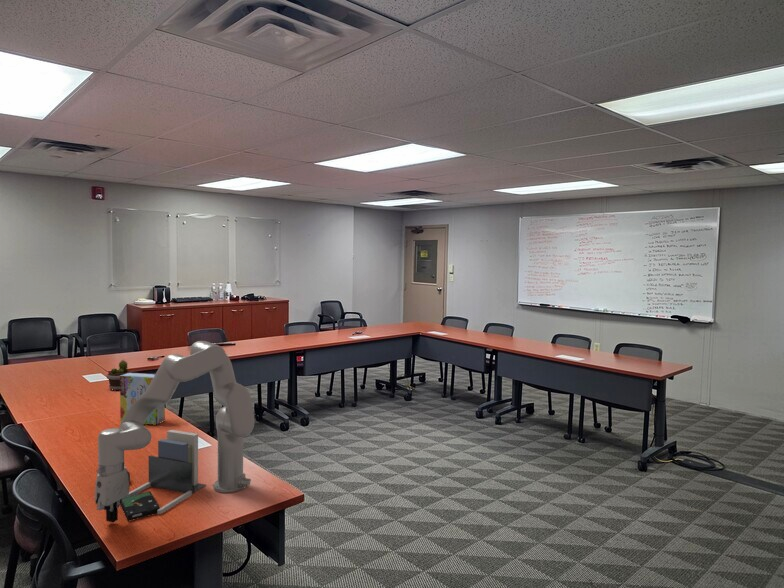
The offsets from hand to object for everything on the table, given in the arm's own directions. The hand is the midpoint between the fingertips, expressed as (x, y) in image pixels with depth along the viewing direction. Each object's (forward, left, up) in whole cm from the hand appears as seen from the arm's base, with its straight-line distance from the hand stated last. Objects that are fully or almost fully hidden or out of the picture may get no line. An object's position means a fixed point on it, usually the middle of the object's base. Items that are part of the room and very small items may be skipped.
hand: (112, 520), depth 168 cm
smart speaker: (+23, -24, -2) cm, 33 cm away
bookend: (0, -31, -1) cm, 31 cm away
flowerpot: (+136, -132, -1) cm, 190 cm away
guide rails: (0, -18, -1) cm, 18 cm away
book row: (0, -30, -1) cm, 30 cm away
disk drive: (0, -11, -2) cm, 12 cm away
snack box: (+71, -86, -1) cm, 111 cm away
